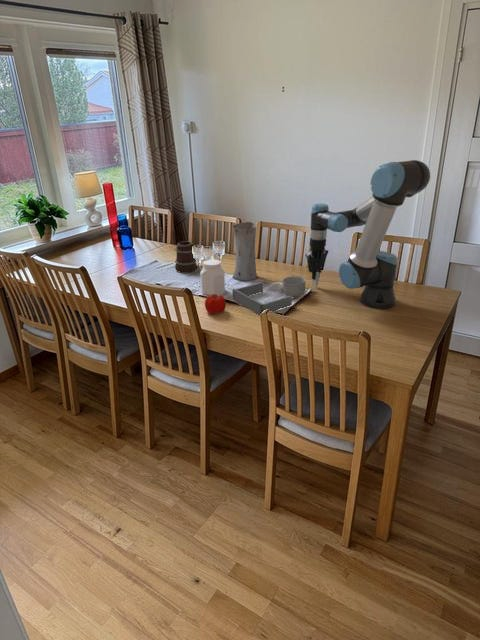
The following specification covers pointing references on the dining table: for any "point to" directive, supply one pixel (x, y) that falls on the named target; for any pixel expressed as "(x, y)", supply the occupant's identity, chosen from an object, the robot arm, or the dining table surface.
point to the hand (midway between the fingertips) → (315, 284)
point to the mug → (185, 257)
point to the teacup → (294, 286)
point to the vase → (245, 251)
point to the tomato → (215, 304)
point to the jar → (212, 278)
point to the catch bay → (243, 298)
